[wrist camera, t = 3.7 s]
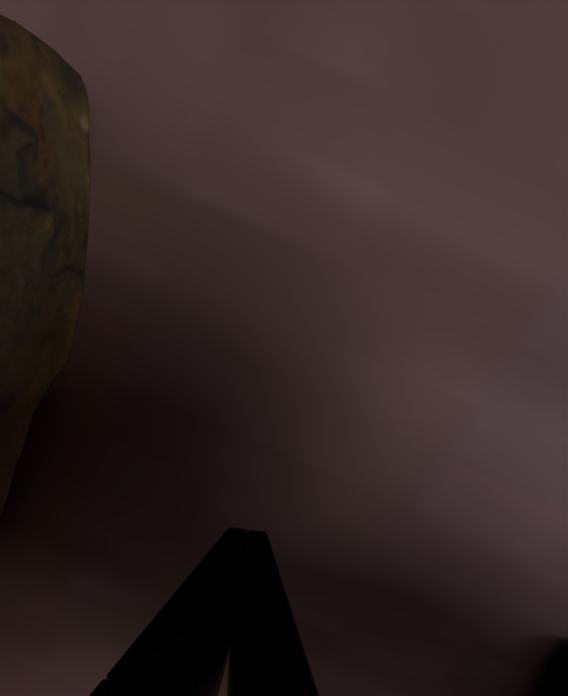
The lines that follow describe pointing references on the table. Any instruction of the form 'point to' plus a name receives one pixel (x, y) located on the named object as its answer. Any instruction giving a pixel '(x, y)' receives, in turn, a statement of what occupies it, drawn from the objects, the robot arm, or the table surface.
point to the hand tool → (38, 227)
